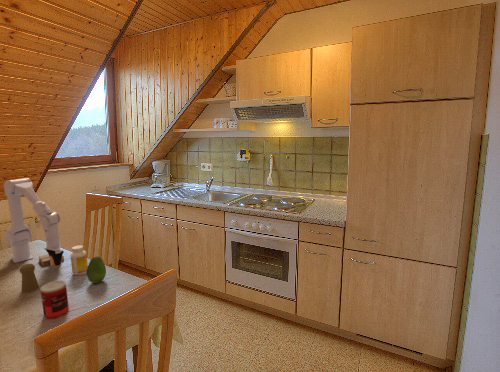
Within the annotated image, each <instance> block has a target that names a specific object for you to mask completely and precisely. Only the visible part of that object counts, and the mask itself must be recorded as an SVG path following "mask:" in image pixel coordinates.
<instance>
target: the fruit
mask: <svg viewBox="0 0 500 372" xmlns="http://www.w3.org/2000/svg"><path fill="white" fill-rule="evenodd" d="M106 269H107V268H106V264H105V262H104V260H103V258H102V257H101V256H94V257H92V258H91V259H90V261H88V267H87V271H86V273H85V274H86V277H87V281H89V282H90V283H91V284H99V283H101V282H102V281H103V280H105V277H106V275H107V270H106Z"/></svg>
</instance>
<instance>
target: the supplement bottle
mask: <svg viewBox="0 0 500 372" xmlns="http://www.w3.org/2000/svg"><path fill="white" fill-rule="evenodd" d="M70 263H71V271H72V275H75V276H80V275H84V274H87V273H86V271H87V267H88V265H89V262H88V256H87V251H86V250H84V245H81V244H80V245H75V246H73V247H71V253H70Z"/></svg>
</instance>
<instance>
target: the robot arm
mask: <svg viewBox="0 0 500 372" xmlns="http://www.w3.org/2000/svg"><path fill="white" fill-rule="evenodd" d="M3 189H4V195H5V196H6V197H7V203H8V209H9V217H10V223H11V226H10V227H9V228H7V229H6V231H5V241H6V243H7V244H8V245H9V246H11V249H12V250H11V251H12V256H11V257H10V258H11V260H12V262H13V263H15V264H17V263H20V262H23V261H28V260H31V259H34V256H33V255H32V254H31V250H30V248H31V247H30V243H29V242H30V241H31V239H32V237H33V232H32V231H31V229H30V228H31V227H30V226H28V225H27V224H25V220H24V211H23V206H22V199H21V196H22V195H23V196H24V197H25V198H26V200H28V201H29V202H30V203H31V205H33V206H32V210H33V211H34V212H35V214H36V215H37V216H38V218H40V220H39V223H40V224H41V226H42V230H44V231H43V232H44V235H45V236H44V238H45V244H46V246H44V247H43V250H44V251H46V252H47V254H49V256H52V258H53V260H54V263H55V265H56V266H57V265H60V264H62V261H61V258H62V255H63V254H64V252H65V251H64V250H61V247H62V244H61V239H60V232H59V225H58V224H59V223H60V221H61V218H60V215H59V214H58V212H56V211H54V210H51V208H50V207H49V205H48V204H47V203H46V202H45V201H41V199H40V198H39V196H38V195H37V193H36V192H35V190H34V184H33V182H32V180H31V179H30V178H28V177H23V178H17V179H7V180H6V181H5V182H4V183H3ZM63 256H64V255H63Z"/></svg>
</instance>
